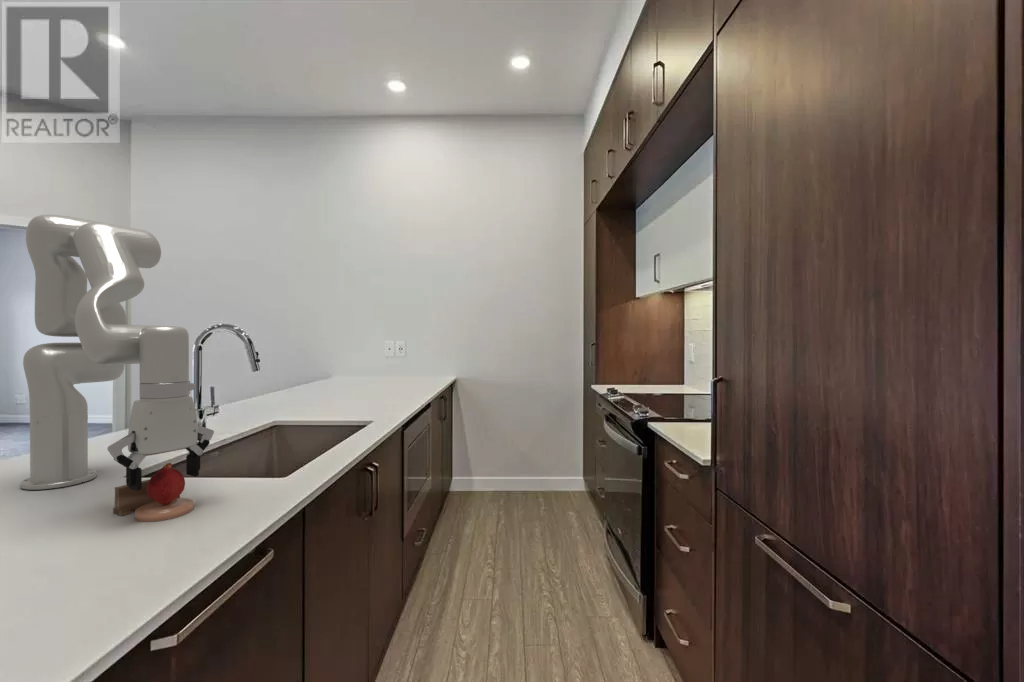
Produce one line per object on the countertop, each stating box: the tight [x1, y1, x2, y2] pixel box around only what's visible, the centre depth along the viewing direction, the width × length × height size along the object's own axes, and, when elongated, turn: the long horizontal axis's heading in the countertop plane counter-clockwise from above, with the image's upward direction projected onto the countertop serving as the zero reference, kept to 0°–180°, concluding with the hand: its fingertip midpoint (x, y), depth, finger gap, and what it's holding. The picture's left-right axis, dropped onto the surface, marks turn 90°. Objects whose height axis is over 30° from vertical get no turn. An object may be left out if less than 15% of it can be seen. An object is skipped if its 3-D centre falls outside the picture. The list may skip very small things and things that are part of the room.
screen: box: [112, 478, 181, 517], centre depth 93 cm, size 3×10×5 cm, turn 151°
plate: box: [134, 497, 195, 523], centre depth 90 cm, size 9×9×1 cm
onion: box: [147, 462, 186, 505], centre depth 90 cm, size 6×6×8 cm
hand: (165, 481), depth 90 cm, fingers open, 9 cm apart
